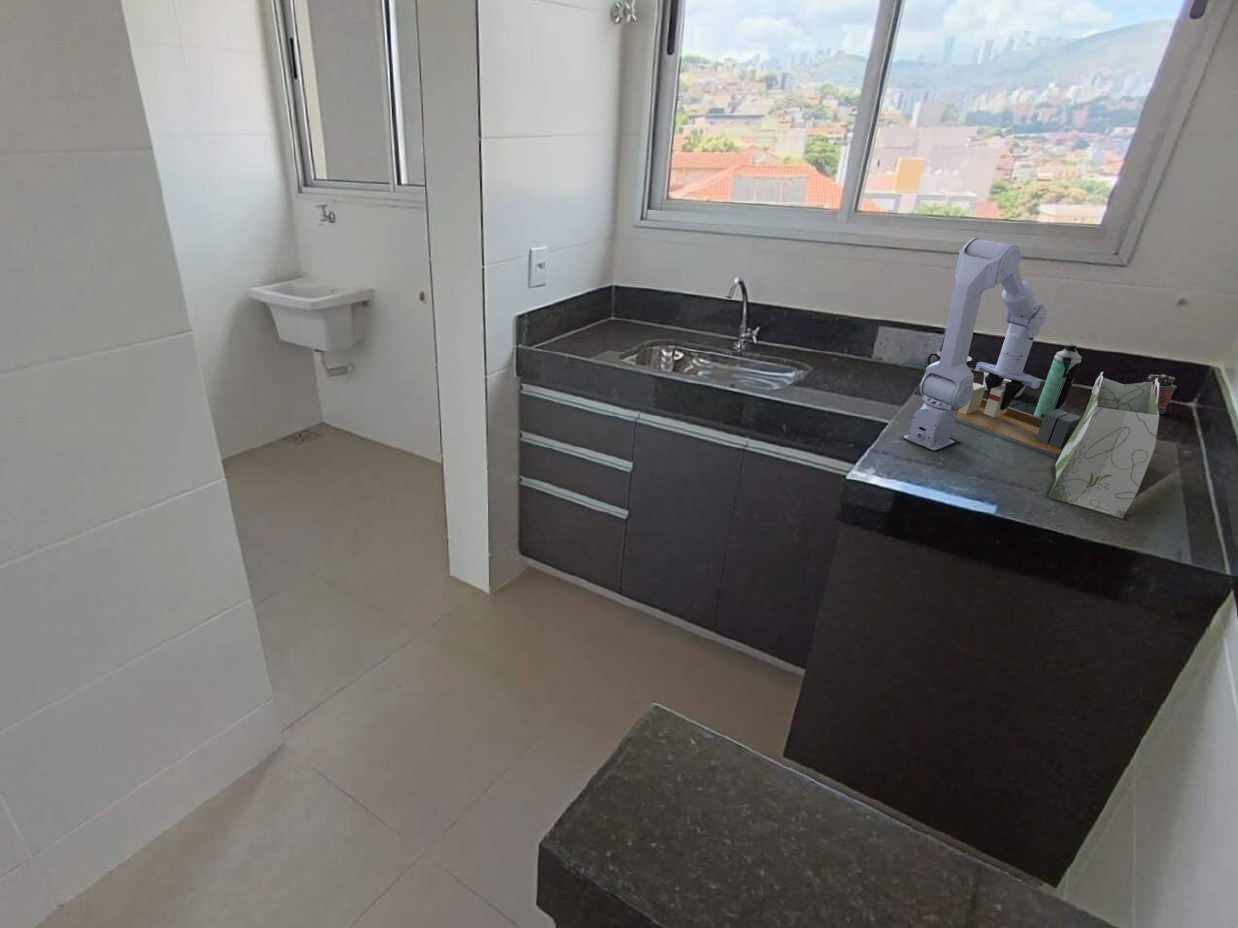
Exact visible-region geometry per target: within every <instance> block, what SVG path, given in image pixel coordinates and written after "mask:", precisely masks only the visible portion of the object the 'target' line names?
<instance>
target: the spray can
mask: <svg viewBox="0 0 1238 928" xmlns="http://www.w3.org/2000/svg"><path fill="white" fill-rule="evenodd" d="M1078 352H1079V351H1078V350H1077V345H1076V344H1068V345H1067V347H1065V348H1063V350H1061V351H1056V353H1055V355H1054V357H1053V360H1052V362H1051V366H1050V369H1049V370H1048V373H1047V377H1046V379H1045V382H1044V385H1043V388H1042V391H1041V394H1040V396H1039V399H1038V402H1037V405H1036V407H1035V411H1034V413H1033V415H1035V416H1038V417H1041V418H1044V416H1045V414H1046V413H1049V412H1051V411H1053V410H1056V409H1059V410H1062V411H1064V407H1065V405H1066V403H1067V400H1068V396H1069V394H1070V391H1071V389H1072V386H1073V384H1074V381H1075V378H1076V376H1077V373H1078V370H1079V367H1080V365H1081V363H1082V358H1083V356H1082V355H1080V354H1079V353H1078Z"/></svg>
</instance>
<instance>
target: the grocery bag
mask: <svg viewBox="0 0 1238 928" xmlns="http://www.w3.org/2000/svg"><path fill="white" fill-rule="evenodd" d="M1103 375H1104V371H1101V372H1100V373H1099V376H1097V378H1096V379H1095V381H1094V382H1095V383H1094V385H1093V388H1092V390H1091V396H1090V397H1089V401H1088V404H1087V406H1086V408H1085V411H1084V413H1083V416H1082V419H1081V421H1080V423H1079V424H1078V426H1077V427H1076V429H1075V431H1074V432H1073V434H1072V435H1071V437H1070V439H1069V440H1068V442H1067V443H1066V445H1065V447H1064V449H1063V451H1062V453H1060V454H1059V457H1058V459H1057V461H1056V463H1055V477H1056V478H1055V477H1054V478H1053V482H1054V483H1053V485H1052V488H1051V490H1050V491H1049V494H1048V496H1047V498H1048V499H1052V500H1056V501H1060V502H1065V503H1068V504H1072V505H1076V506H1079V507H1083V508H1086V509H1090V510H1094V511H1097V512H1100V513H1103V514H1107V515H1111V516H1114V517H1118V518H1119V519H1124V518H1125V516H1126V514H1127V512H1128V510H1129V508H1130V506H1131V504H1132V502H1133V501H1134V499H1135V497H1136V495H1137V493H1138V492H1139V489H1140V487H1141V484H1142V482H1143V479H1144V477H1145V475H1146V472H1147V469H1148V467H1149V465H1150V462H1151V460H1152V458H1153V454H1154V453H1155V449H1156V444H1157V437H1158V428H1159V421H1160V414H1159V411H1158V406H1157V404H1158V398H1159V383H1158V378H1156V379H1155V386H1154V389H1153V384H1152V381H1150V382H1151V383H1143V382H1140V383H1139V382H1137V383H1127V384H1123V383H1120V382H1118V381H1114V380H1111V379H1108V378H1106V377H1104V376H1103ZM1156 385H1157V400H1156V396H1155V390H1156Z"/></svg>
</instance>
